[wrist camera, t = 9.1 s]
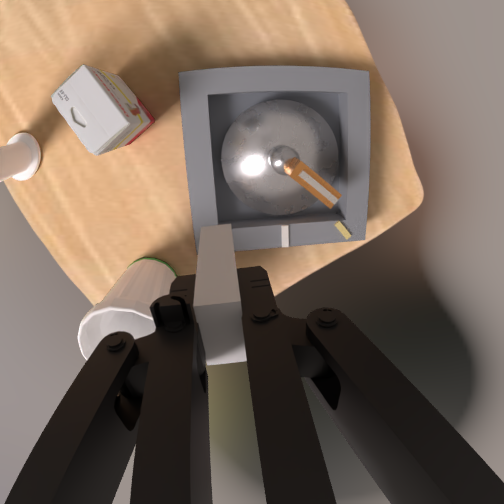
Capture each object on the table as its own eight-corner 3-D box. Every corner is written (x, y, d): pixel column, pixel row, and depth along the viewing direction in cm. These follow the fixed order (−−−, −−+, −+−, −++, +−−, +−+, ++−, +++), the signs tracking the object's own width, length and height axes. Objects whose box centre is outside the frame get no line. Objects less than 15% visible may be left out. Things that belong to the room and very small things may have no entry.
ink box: (157, 120, 36) (132, 124, 25) (128, 145, 36) (94, 159, 26) (119, 73, 32) (82, 61, 21) (91, 98, 33) (47, 97, 22)
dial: (198, 168, 37) (193, 181, 30) (268, 77, 33) (279, 69, 26) (287, 230, 42) (299, 253, 35) (353, 148, 38) (379, 157, 31)
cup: (109, 305, 46) (79, 374, 32) (116, 235, 41) (75, 293, 28) (183, 324, 49) (175, 398, 35) (201, 255, 44) (194, 323, 30)
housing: (183, 76, 33) (178, 71, 29) (354, 74, 35) (370, 70, 31) (198, 240, 43) (196, 255, 39) (352, 227, 44) (365, 240, 40)
